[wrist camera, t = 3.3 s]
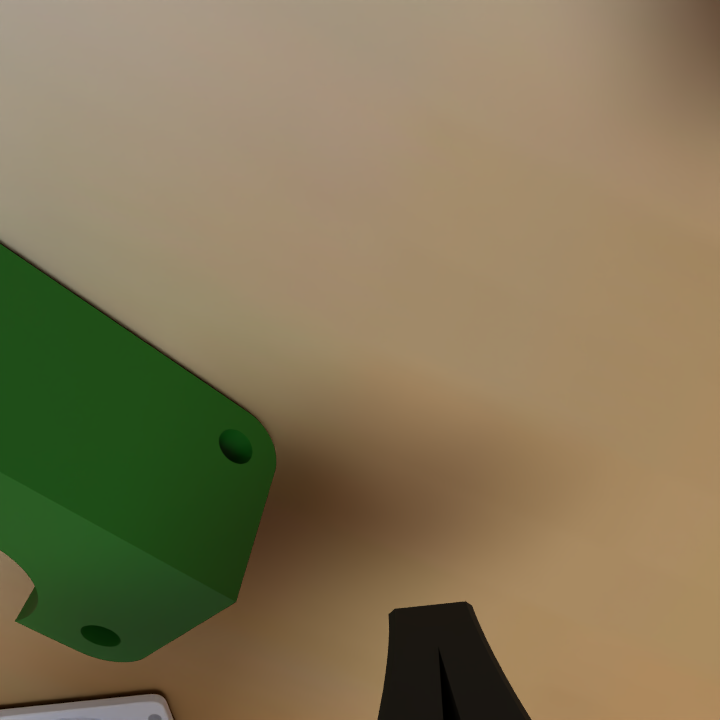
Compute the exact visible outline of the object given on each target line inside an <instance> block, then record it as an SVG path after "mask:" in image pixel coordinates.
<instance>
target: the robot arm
mask: <svg viewBox="0 0 720 720" xmlns="http://www.w3.org/2000/svg"><path fill="white" fill-rule="evenodd" d="M0 720H173V717H172V715H171V712H170V709H169V707H168V704H167V702H166V700H165V699H164V697H162V696H161V695H157V694H146V695H136V696H126V697H117V698H107V699H97V700H88V701H78V702H68V703H59V704H49V705H39V706H30V707H20V708H10V709H1V710H0ZM378 720H531V718H530V717H529V715H528V713H527V712H526V710H525V708H524V707H523V705H522V704H521V702H520V700H519V699H518V697H517V695H516V694H515V692H514V690H513V688H512V687H511V685H510V683H509V681H508V680H507V678H506V676H505V674H504V672H503V671H502V669H501V667H500V665H499V663H498V661H497V659H496V657H495V656H494V654H493V652H492V650H491V648H490V646H489V644H488V642H487V640H486V637H485V635H484V633H483V631H482V629H481V626H480V624H479V622H478V620H477V617H476V615H475V612H474V609H473V607H472V605H470V604H469V603H467V602H466V601H465V602H456V603H446V604H437V605H427V606H417V607H408V608H398V609H394V610H393V611H392V612H391V613H390V614H389V646H388V657H387V666H386V674H385V681H384V688H383V694H382V699H381V704H380V710H379V715H378Z"/></svg>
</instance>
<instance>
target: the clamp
mask: <svg viewBox="0 0 720 720" xmlns="http://www.w3.org/2000/svg"><path fill="white" fill-rule="evenodd" d="M275 469H276V453H275V448H274V445H273V442H272V440H271V438H270V436H269V434H268V433H267V431H266V429H265V428H264V427H263V425H262V424H261V423H260V422H259V421H258V420H257V419H256V418H255V417H254V416H252V415H251V414H250V413H248V412H247V411H245V410H244V409H242V408H241V407H239V406H238V405H237V404H235V403H234V402H232V401H231V400H229V399H228V398H226V397H225V396H223V395H222V394H220V393H219V392H217V391H216V390H214V389H213V388H211V387H210V386H209V385H207V384H206V383H204V382H203V381H201V380H200V379H198V378H197V377H195V376H194V375H192V374H191V373H189V372H188V371H186V370H185V369H184V368H182V367H181V366H179V365H178V364H176V363H175V362H173V361H172V360H170V359H169V358H167V357H166V356H164V355H163V354H161V353H160V352H158V351H157V350H156V349H154V348H153V347H151V346H150V345H148V344H147V343H145V342H144V341H142V340H141V339H139V338H138V337H136V336H135V335H133V334H132V333H131V332H129V331H128V330H126V329H125V328H123V327H122V326H120V325H119V324H117V323H116V322H114V321H113V320H111V319H110V318H108V317H107V316H105V315H104V314H103V313H101V312H100V311H98V310H97V309H95V308H94V307H92V306H91V305H89V304H88V303H86V302H85V301H83V300H82V299H80V298H79V297H77V296H76V295H75V294H73V293H72V292H70V291H69V290H67V289H66V288H64V287H63V286H61V285H60V284H58V283H57V282H55V281H54V280H52V279H51V278H50V277H48V276H47V275H45V274H44V273H42V272H41V271H39V270H38V269H36V268H35V267H33V266H32V265H30V264H29V263H27V262H26V261H24V260H23V259H22V258H20V257H19V256H17V255H16V254H14V253H13V252H11V251H10V250H8V249H7V248H5V247H4V246H2V245H1V244H0V550H1V551H2V552H4V553H5V554H6V555H8V556H9V557H10V558H12V559H13V560H14V561H15V562H16V563H17V564H18V565H19V566H20V567H21V568H22V569H23V570H24V571H25V572H26V573H27V574H28V576H29V577H30V578H31V580H32V582H33V583H34V585H35V587H34V589H33V591H32V593H31V594H30V596H29V598H28V600H27V601H26V603H25V605H24V606H23V608H22V610H21V612H20V613H19V615H18V617H17V619H16V620H15V622H18V623H20V624H22V625H24V626H26V627H28V628H30V629H32V630H34V631H37V632H39V633H41V634H43V635H45V636H47V637H49V638H51V639H54V640H56V641H58V642H60V643H62V644H64V645H66V646H68V647H71V648H73V649H75V650H77V651H79V652H81V653H84V654H86V655H89V656H92V657H95V658H98V659H102V660H107V661H114V662H133V661H137V660H141V659H143V658H145V657H146V656H148V655H150V654H151V653H153V652H155V651H156V650H158V649H160V648H161V647H163V646H165V645H166V644H168V643H169V642H171V641H173V640H174V639H176V638H178V637H179V636H181V635H183V634H184V633H186V632H188V631H189V630H191V629H192V628H194V627H196V626H197V625H199V624H201V623H202V622H204V621H206V620H207V619H209V618H211V617H212V616H214V615H215V614H217V613H219V612H220V611H222V610H224V609H225V608H227V607H229V606H230V605H232V604H233V603H235V602H236V600H237V597H238V593H239V590H240V587H241V583H242V580H243V577H244V573H245V570H246V567H247V563H248V560H249V556H250V553H251V550H252V546H253V543H254V540H255V536H256V533H257V530H258V526H259V523H260V520H261V516H262V513H263V510H264V506H265V503H266V499H267V496H268V493H269V489H270V486H271V483H272V479H273V476H274V473H275Z"/></svg>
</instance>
